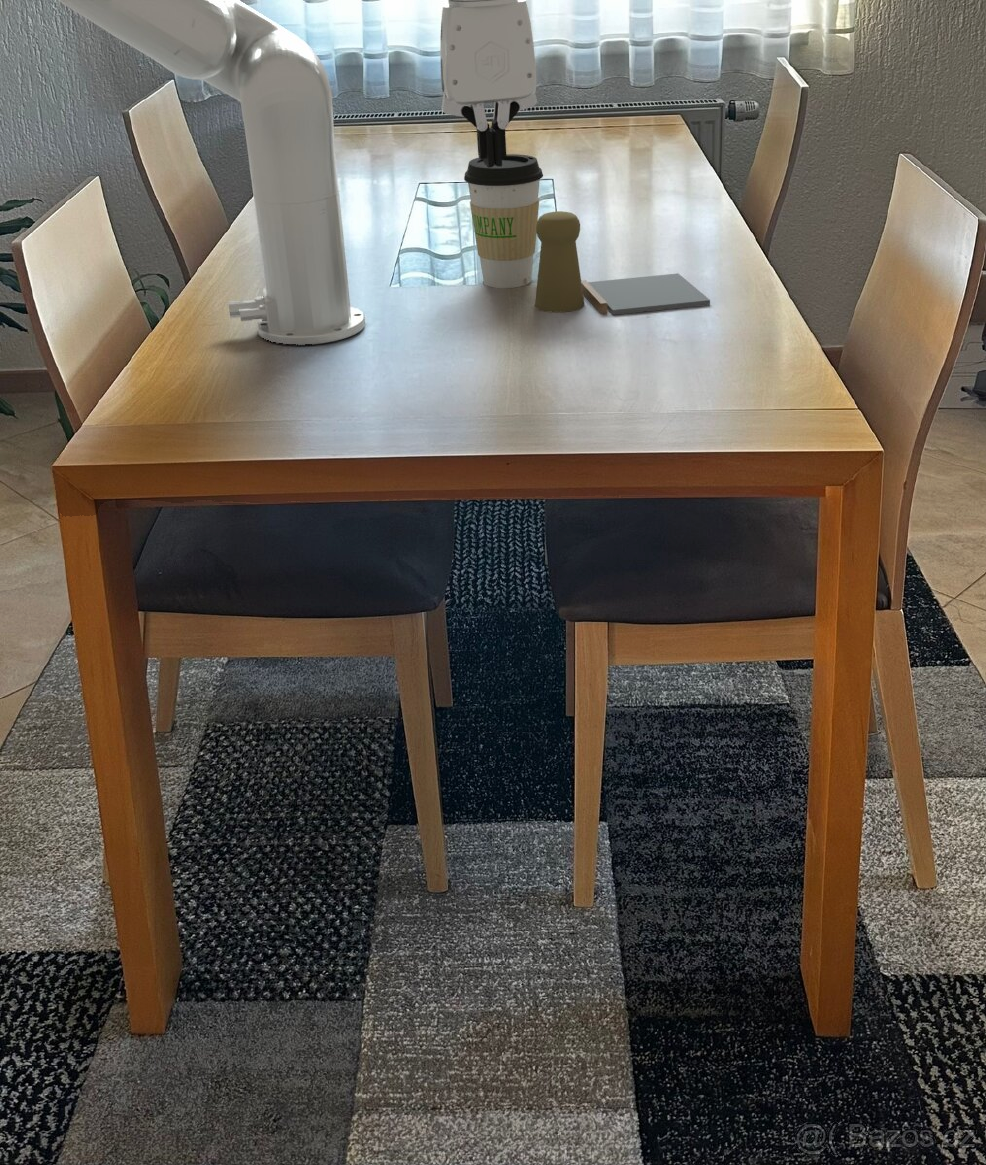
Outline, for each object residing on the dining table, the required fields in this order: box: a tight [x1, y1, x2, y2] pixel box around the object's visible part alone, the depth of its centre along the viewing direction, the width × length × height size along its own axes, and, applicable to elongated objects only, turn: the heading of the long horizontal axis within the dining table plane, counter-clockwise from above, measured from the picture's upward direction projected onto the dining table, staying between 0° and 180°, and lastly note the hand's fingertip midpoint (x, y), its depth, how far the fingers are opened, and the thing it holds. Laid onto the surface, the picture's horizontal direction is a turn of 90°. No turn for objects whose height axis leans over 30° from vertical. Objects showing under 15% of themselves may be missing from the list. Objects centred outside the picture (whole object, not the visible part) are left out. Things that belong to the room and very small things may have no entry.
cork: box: [534, 210, 585, 313], centre depth 154 cm, size 6×6×11 cm
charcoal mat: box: [587, 272, 711, 316], centre depth 158 cm, size 12×12×1 cm
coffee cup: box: [463, 153, 544, 289], centre depth 162 cm, size 10×10×15 cm
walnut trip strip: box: [581, 279, 608, 314], centre depth 157 cm, size 1×10×1 cm, turn 11°
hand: (492, 164), depth 147 cm, fingers closed
